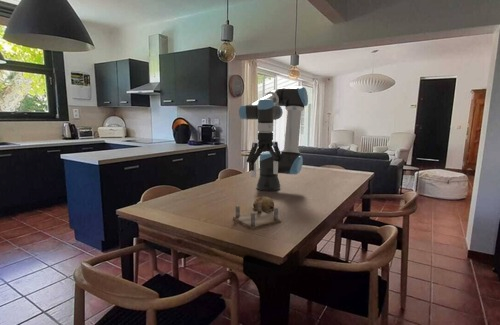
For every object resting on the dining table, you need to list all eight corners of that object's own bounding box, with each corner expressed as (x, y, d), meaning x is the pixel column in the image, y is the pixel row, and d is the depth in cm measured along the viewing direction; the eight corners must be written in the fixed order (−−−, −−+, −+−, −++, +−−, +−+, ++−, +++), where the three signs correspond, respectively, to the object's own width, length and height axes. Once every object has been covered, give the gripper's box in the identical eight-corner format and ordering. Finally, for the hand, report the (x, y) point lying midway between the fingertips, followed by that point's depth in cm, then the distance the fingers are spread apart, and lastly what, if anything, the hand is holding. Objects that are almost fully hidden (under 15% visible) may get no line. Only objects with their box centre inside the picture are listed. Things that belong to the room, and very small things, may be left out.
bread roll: (264, 219, 136) (270, 206, 133) (248, 207, 140) (253, 194, 137) (273, 213, 144) (279, 201, 141) (258, 202, 148) (263, 190, 145)
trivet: (233, 219, 126) (233, 205, 125) (260, 213, 134) (260, 200, 133) (252, 230, 114) (252, 215, 113) (280, 222, 122) (280, 208, 121)
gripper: (248, 133, 125) (248, 179, 128) (290, 131, 139) (289, 173, 142) (239, 132, 131) (239, 177, 134) (280, 131, 145) (279, 171, 148)
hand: (264, 175), depth 138 cm, fingers open, 13 cm apart
